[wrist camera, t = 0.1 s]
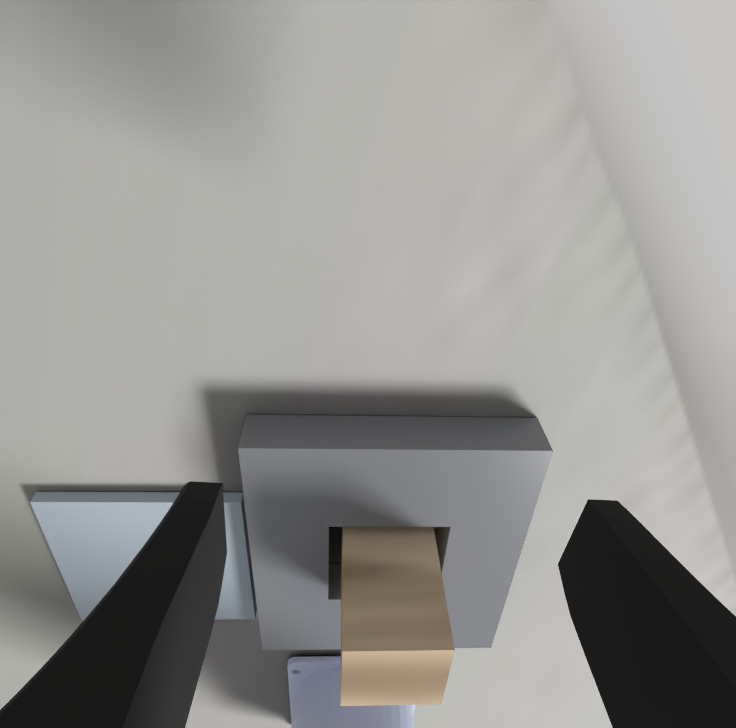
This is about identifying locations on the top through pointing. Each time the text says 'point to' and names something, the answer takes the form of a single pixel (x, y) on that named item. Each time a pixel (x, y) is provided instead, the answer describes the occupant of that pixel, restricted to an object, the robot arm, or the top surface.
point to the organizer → (385, 510)
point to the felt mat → (132, 543)
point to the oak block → (393, 618)
